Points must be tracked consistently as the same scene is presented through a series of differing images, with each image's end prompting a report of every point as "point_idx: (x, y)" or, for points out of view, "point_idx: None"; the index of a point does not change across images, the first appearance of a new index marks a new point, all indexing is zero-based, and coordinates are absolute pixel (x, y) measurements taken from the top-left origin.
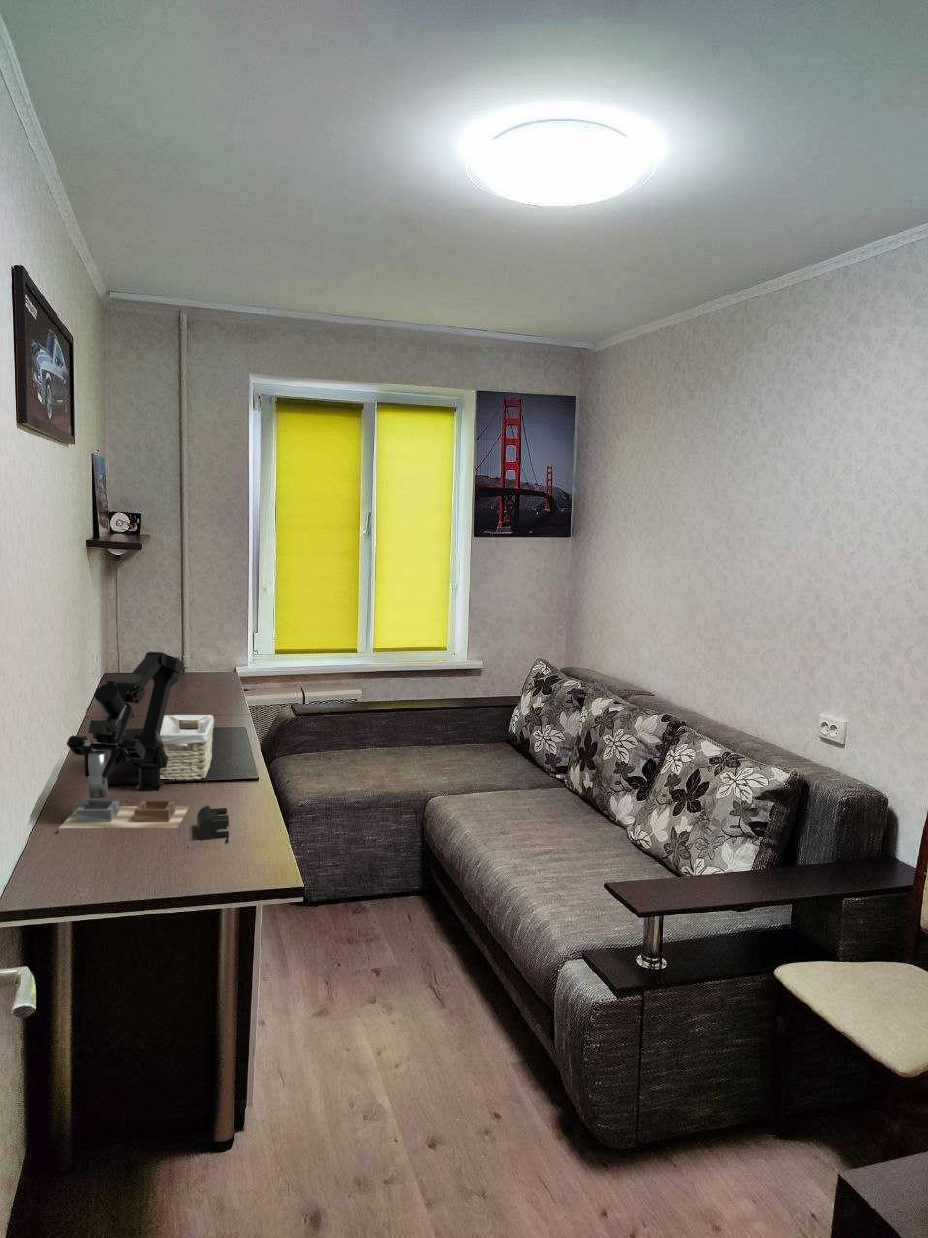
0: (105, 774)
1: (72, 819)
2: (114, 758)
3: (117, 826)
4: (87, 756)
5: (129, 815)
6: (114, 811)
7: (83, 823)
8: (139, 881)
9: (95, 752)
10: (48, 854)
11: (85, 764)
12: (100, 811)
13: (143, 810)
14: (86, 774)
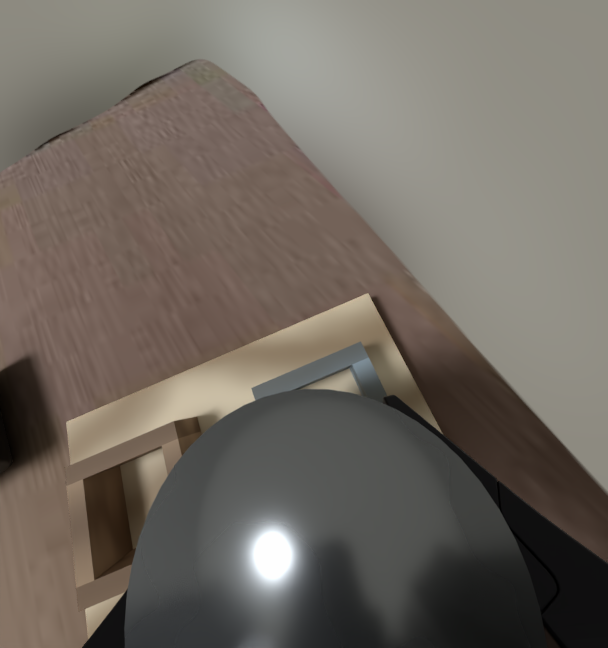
0: None
1: (386, 365)
2: (95, 638)
3: (224, 365)
4: (563, 584)
5: None
6: None
7: (330, 349)
8: (72, 185)
9: (401, 644)
10: (294, 202)
11: (462, 457)
12: (283, 375)
13: (146, 435)
14: (383, 398)
